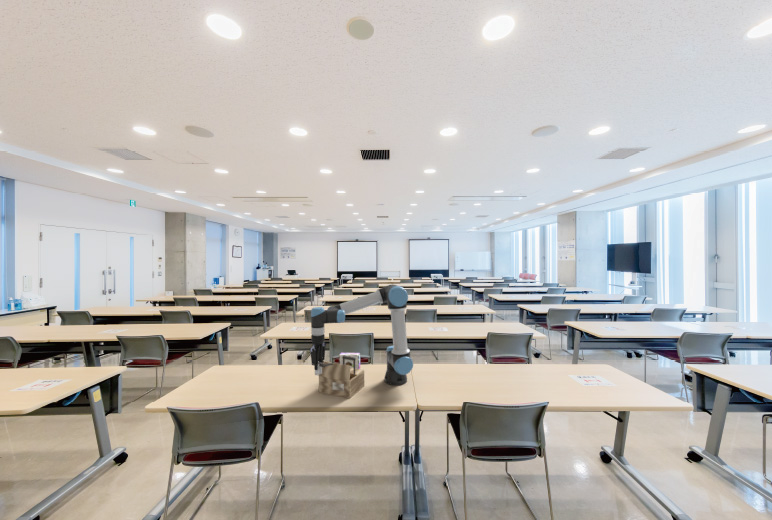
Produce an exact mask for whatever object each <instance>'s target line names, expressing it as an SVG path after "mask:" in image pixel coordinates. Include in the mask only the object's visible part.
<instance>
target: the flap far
mask: <svg viewBox="0 0 772 520" xmlns="http://www.w3.org/2000/svg"><path fill="white" fill-rule="evenodd" d="M342 359H343V365H345V359H347V360H353V365H354V368H350V375H356V376H357V375H359V374H360V373H362V372H363V371H364V372H365V369H362V368H360V369H356V368H355V360H356V358H355V357H348V356H343V357H342Z"/></svg>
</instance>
